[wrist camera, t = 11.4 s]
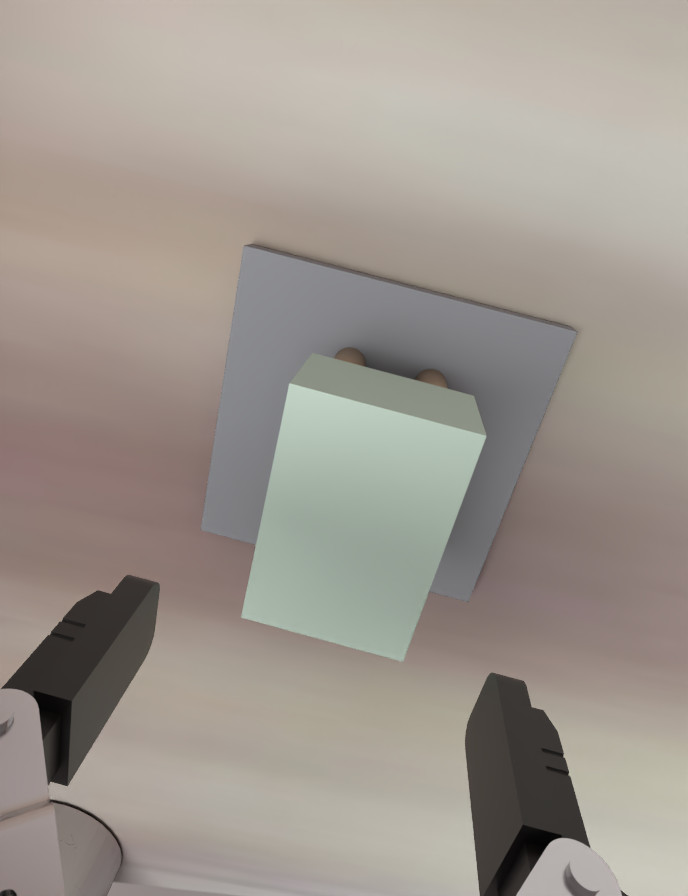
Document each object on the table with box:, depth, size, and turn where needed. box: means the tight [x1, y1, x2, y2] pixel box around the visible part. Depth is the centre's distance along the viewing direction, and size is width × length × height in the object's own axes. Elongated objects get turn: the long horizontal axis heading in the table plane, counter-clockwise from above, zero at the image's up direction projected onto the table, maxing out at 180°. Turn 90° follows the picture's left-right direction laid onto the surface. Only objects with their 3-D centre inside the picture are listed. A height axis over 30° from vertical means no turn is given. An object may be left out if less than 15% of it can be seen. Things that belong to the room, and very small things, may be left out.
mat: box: [201, 244, 577, 602], centre depth 26 cm, size 14×14×1 cm
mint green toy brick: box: [241, 347, 486, 662], centre depth 22 cm, size 6×9×8 cm, turn 166°
